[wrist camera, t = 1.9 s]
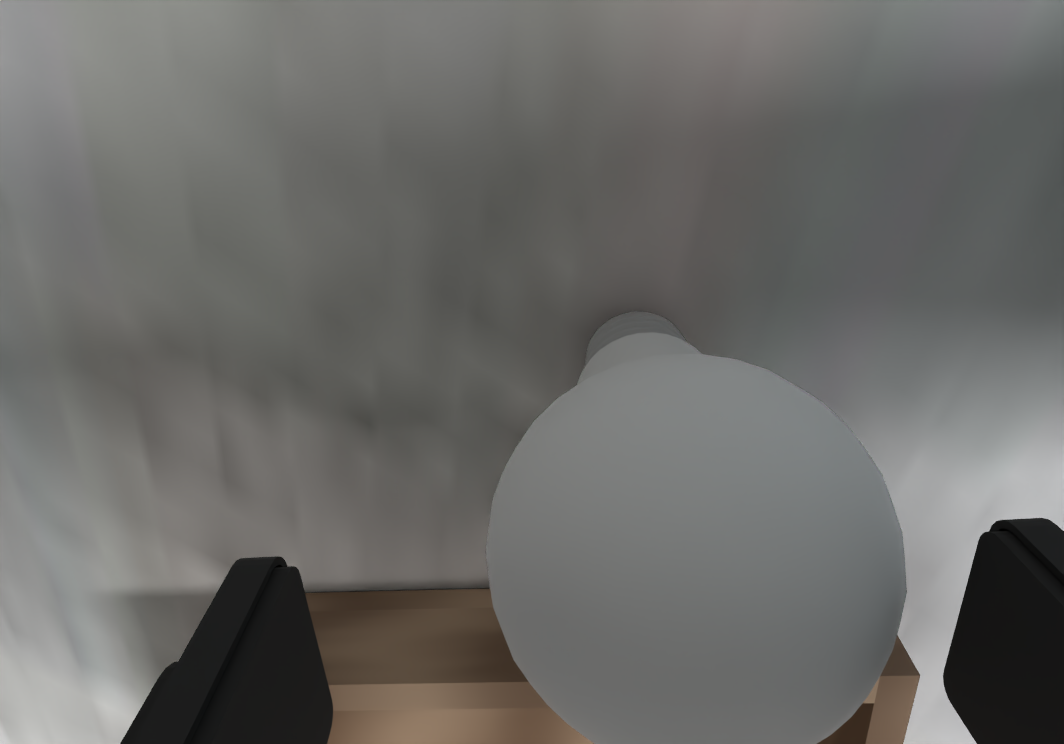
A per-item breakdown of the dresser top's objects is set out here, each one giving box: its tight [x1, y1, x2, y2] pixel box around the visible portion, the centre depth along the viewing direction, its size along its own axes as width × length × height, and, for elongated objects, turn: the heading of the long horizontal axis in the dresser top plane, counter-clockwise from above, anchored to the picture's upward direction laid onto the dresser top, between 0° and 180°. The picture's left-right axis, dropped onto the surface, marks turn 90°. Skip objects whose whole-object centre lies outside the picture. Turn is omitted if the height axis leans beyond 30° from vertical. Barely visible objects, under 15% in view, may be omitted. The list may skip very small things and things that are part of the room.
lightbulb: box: [486, 311, 907, 744], centre depth 13 cm, size 6×6×11 cm
